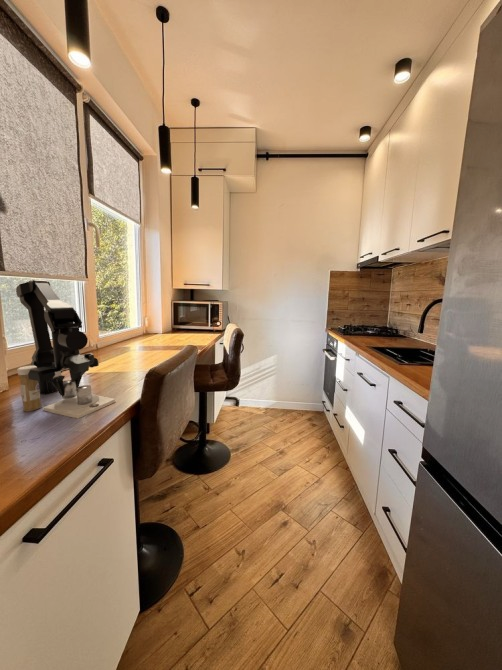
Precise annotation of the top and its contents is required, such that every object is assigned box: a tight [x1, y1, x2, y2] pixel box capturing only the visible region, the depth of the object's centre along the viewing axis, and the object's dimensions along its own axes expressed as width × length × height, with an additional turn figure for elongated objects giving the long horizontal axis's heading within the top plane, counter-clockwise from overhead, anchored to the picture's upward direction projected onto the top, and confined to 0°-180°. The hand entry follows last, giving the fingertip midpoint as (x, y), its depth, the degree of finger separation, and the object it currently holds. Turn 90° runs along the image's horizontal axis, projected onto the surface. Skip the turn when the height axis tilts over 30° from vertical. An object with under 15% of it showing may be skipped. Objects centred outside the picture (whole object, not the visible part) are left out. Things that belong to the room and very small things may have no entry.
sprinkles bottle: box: [17, 365, 42, 412], centre depth 80 cm, size 5×5×13 cm
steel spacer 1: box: [61, 379, 77, 399], centre depth 85 cm, size 4×4×5 cm
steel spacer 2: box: [76, 384, 93, 405], centre depth 82 cm, size 4×4×5 cm
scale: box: [42, 393, 116, 420], centre depth 84 cm, size 15×13×2 cm
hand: (69, 393), depth 85 cm, fingers closed on steel spacer 1, 4 cm apart
